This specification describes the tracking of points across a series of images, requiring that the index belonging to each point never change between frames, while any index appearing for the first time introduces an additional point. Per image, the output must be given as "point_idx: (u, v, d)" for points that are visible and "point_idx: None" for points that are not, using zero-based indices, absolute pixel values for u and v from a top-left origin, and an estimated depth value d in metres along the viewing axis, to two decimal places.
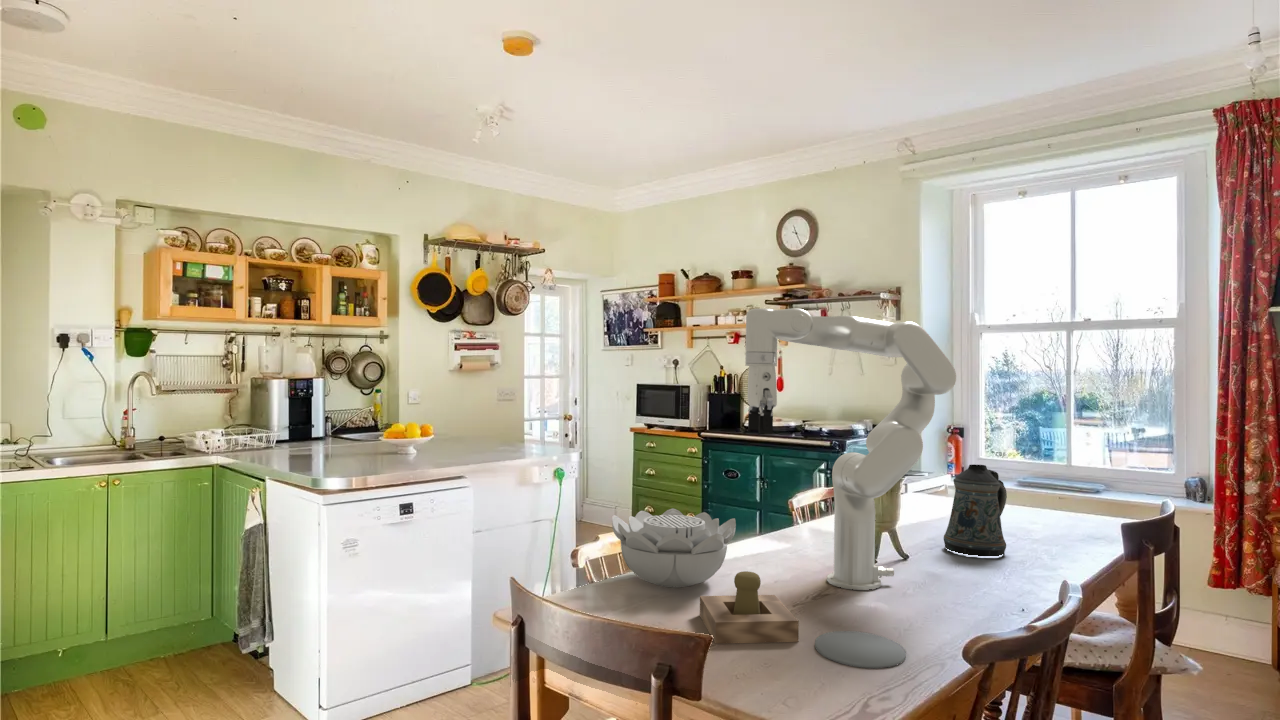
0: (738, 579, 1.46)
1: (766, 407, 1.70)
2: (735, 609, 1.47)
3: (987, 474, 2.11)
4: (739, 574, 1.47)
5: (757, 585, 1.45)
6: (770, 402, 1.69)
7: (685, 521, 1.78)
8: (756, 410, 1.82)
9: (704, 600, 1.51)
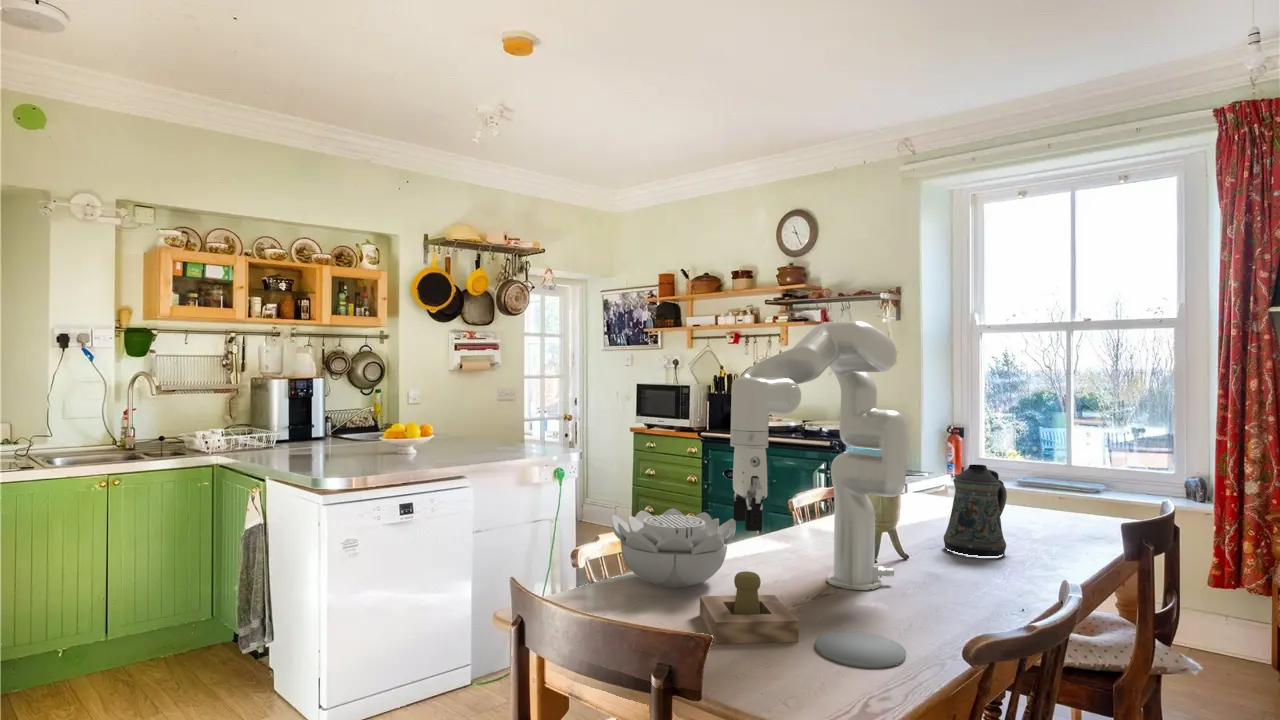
0: (738, 579, 1.46)
1: (754, 500, 1.40)
2: (735, 609, 1.47)
3: (987, 474, 2.11)
4: (739, 574, 1.47)
5: (757, 585, 1.45)
6: (759, 495, 1.39)
7: (685, 521, 1.78)
8: (743, 497, 1.52)
9: (704, 600, 1.51)
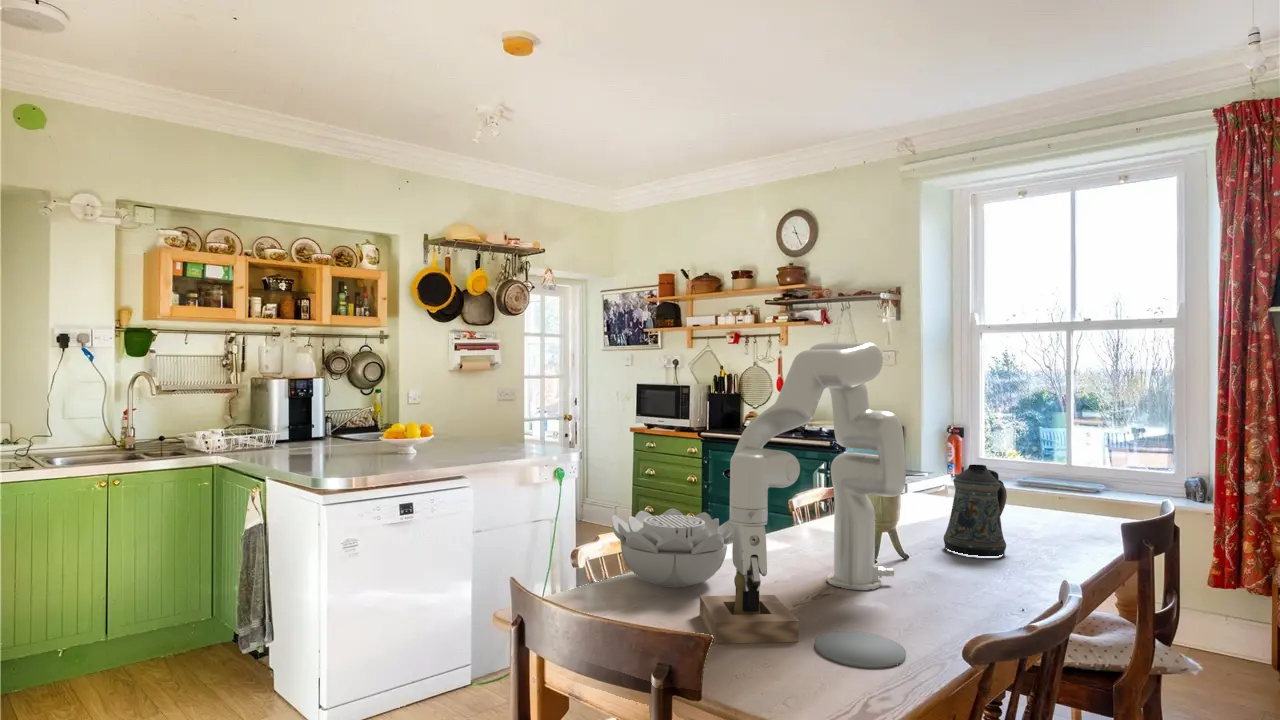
0: (738, 579, 1.46)
1: (751, 583, 1.42)
2: (735, 609, 1.47)
3: (987, 474, 2.11)
4: (739, 574, 1.47)
5: None
6: (756, 582, 1.41)
7: (685, 521, 1.78)
8: None
9: (704, 600, 1.51)
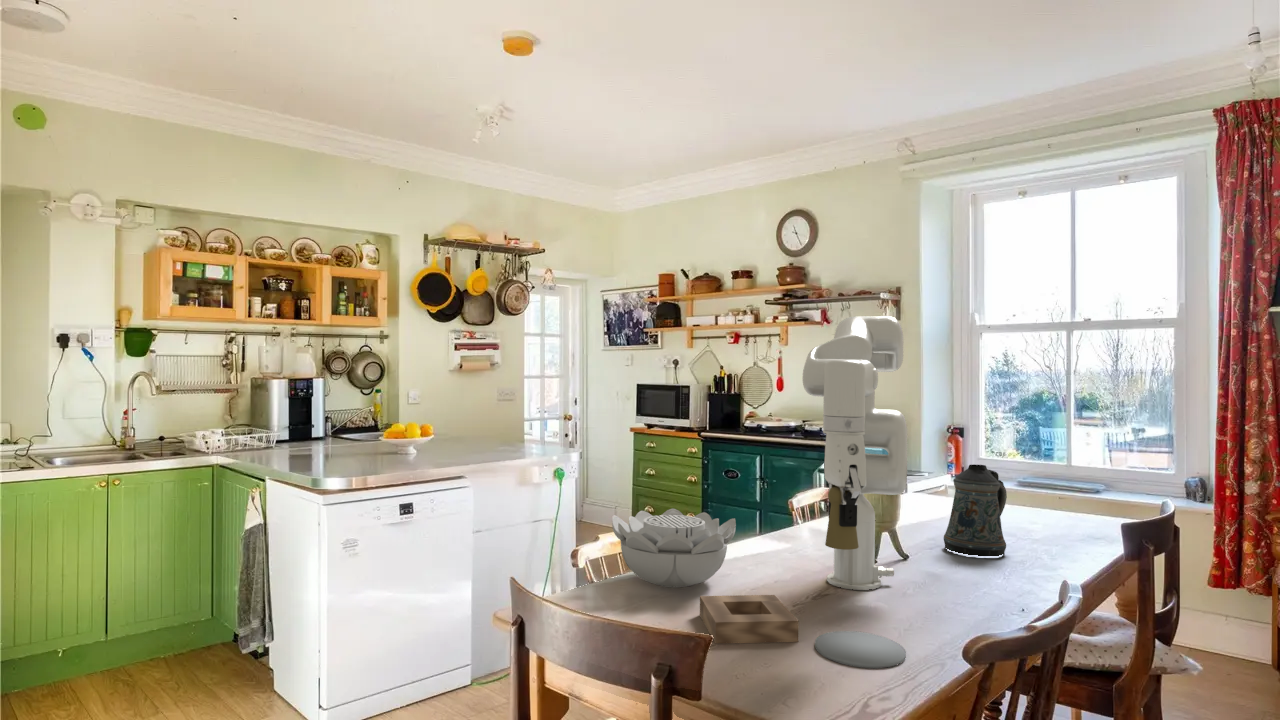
0: (834, 493, 1.37)
1: (850, 495, 1.33)
2: (830, 525, 1.38)
3: (987, 474, 2.11)
4: (834, 488, 1.38)
5: None
6: (856, 493, 1.32)
7: (685, 521, 1.78)
8: None
9: (704, 600, 1.51)
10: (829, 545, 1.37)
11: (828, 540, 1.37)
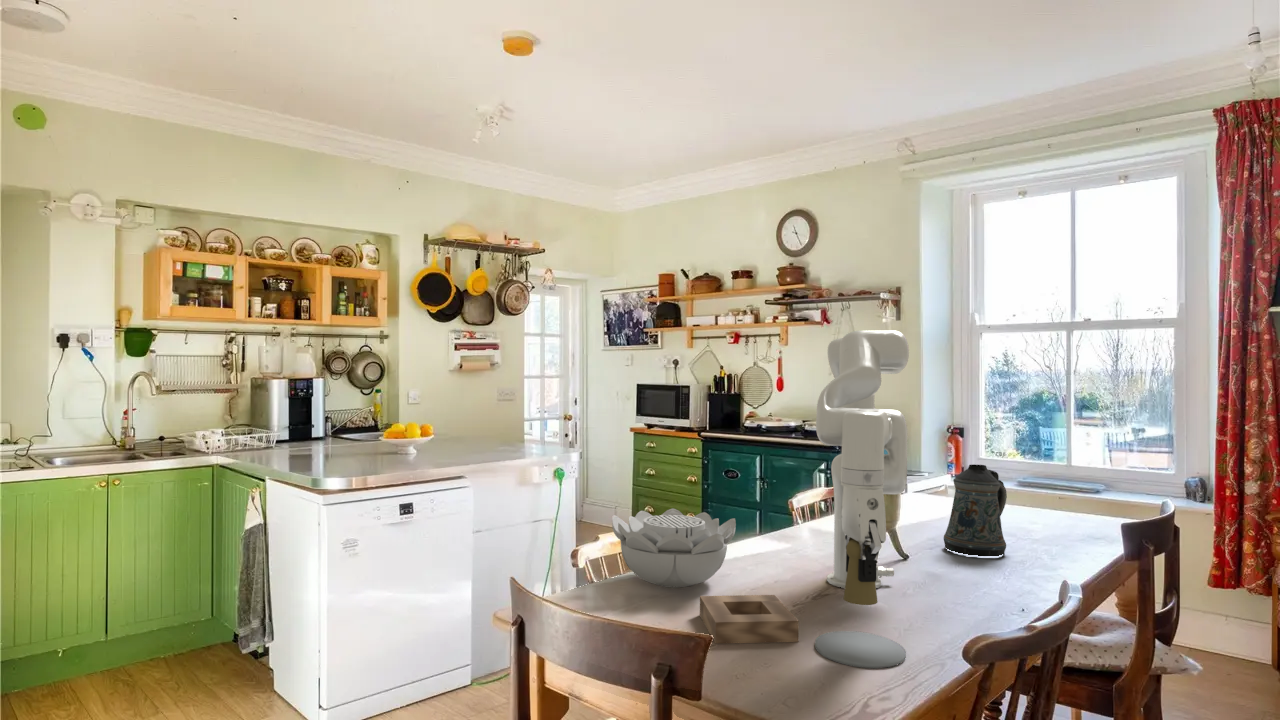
0: (853, 547, 1.35)
1: (870, 550, 1.31)
2: (848, 579, 1.36)
3: (987, 474, 2.11)
4: (852, 541, 1.36)
5: None
6: (876, 549, 1.30)
7: (685, 521, 1.78)
8: None
9: (704, 600, 1.51)
10: (848, 600, 1.35)
11: (847, 595, 1.35)
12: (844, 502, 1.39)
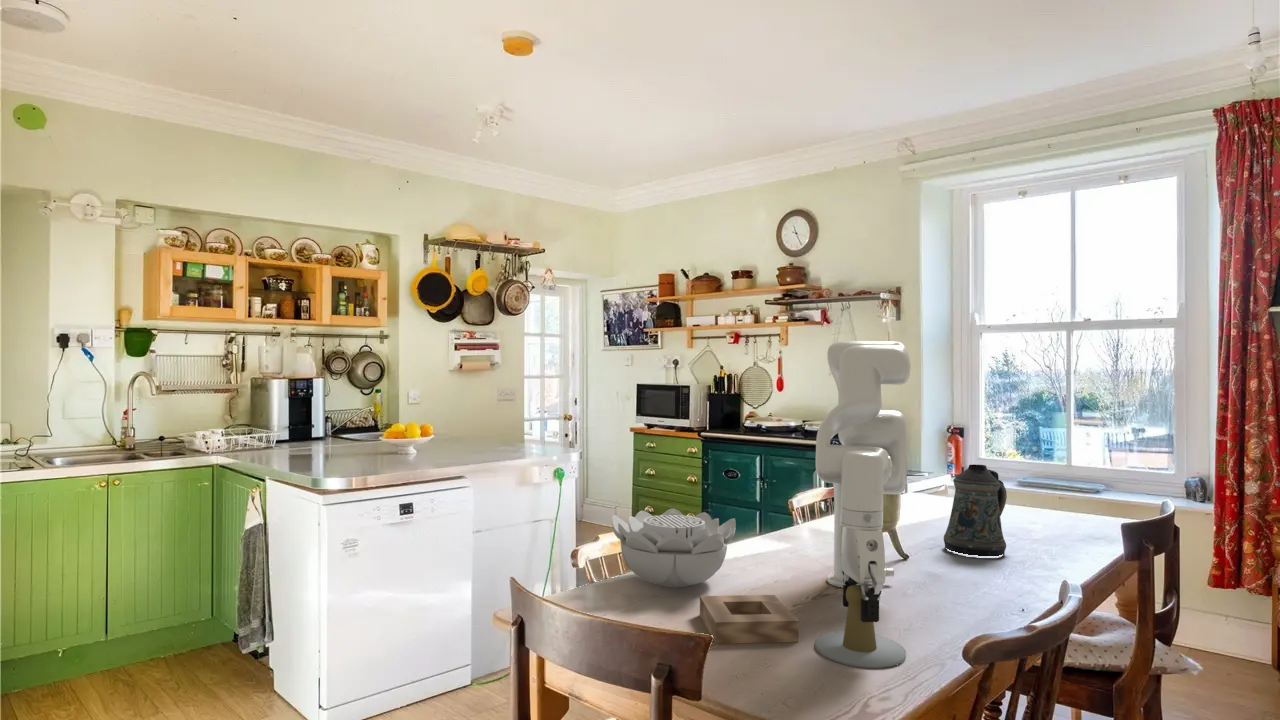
0: (852, 594, 1.35)
1: (872, 591, 1.29)
2: (848, 626, 1.36)
3: (987, 474, 2.11)
4: (852, 588, 1.36)
5: None
6: (879, 587, 1.29)
7: (685, 521, 1.78)
8: (853, 580, 1.41)
9: (704, 600, 1.51)
10: (847, 646, 1.35)
11: (846, 641, 1.35)
12: (843, 541, 1.39)
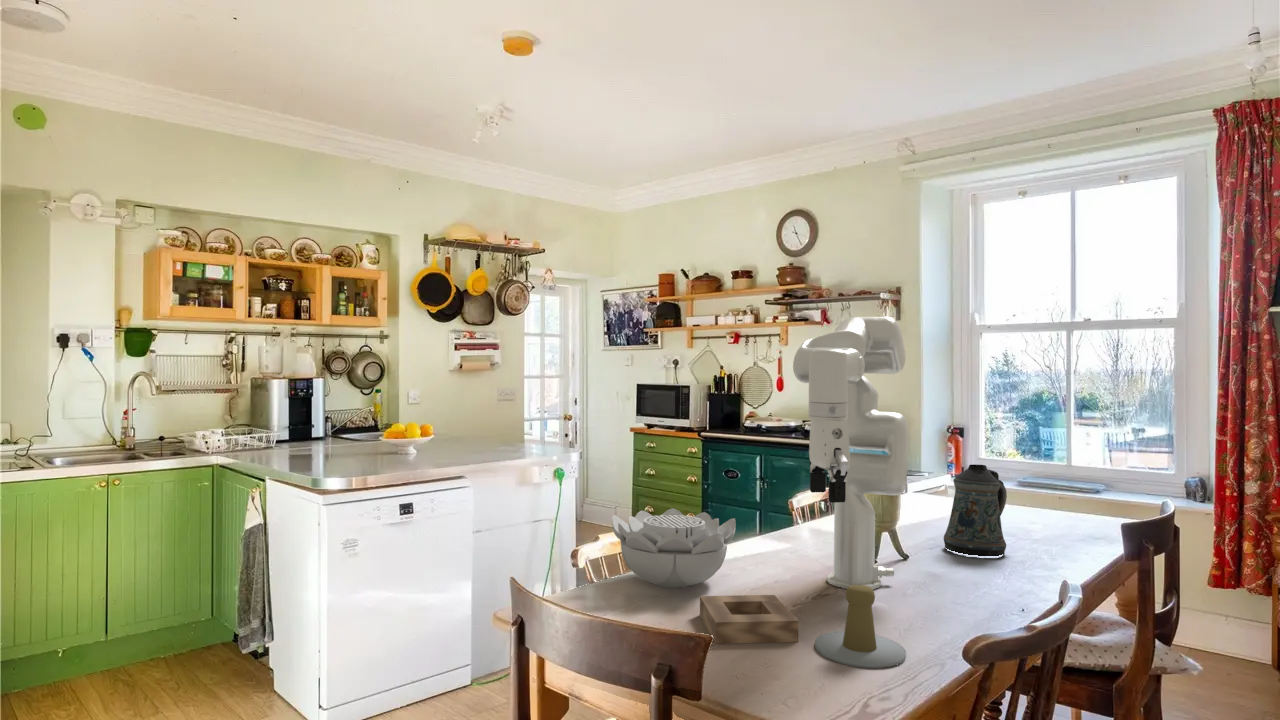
0: (852, 594, 1.35)
1: (839, 472, 1.39)
2: (848, 626, 1.36)
3: (987, 474, 2.11)
4: (852, 588, 1.36)
5: (872, 600, 1.35)
6: (844, 467, 1.39)
7: (685, 521, 1.78)
8: (819, 469, 1.52)
9: (704, 600, 1.51)
10: (847, 646, 1.35)
11: (846, 641, 1.35)
12: (811, 434, 1.49)
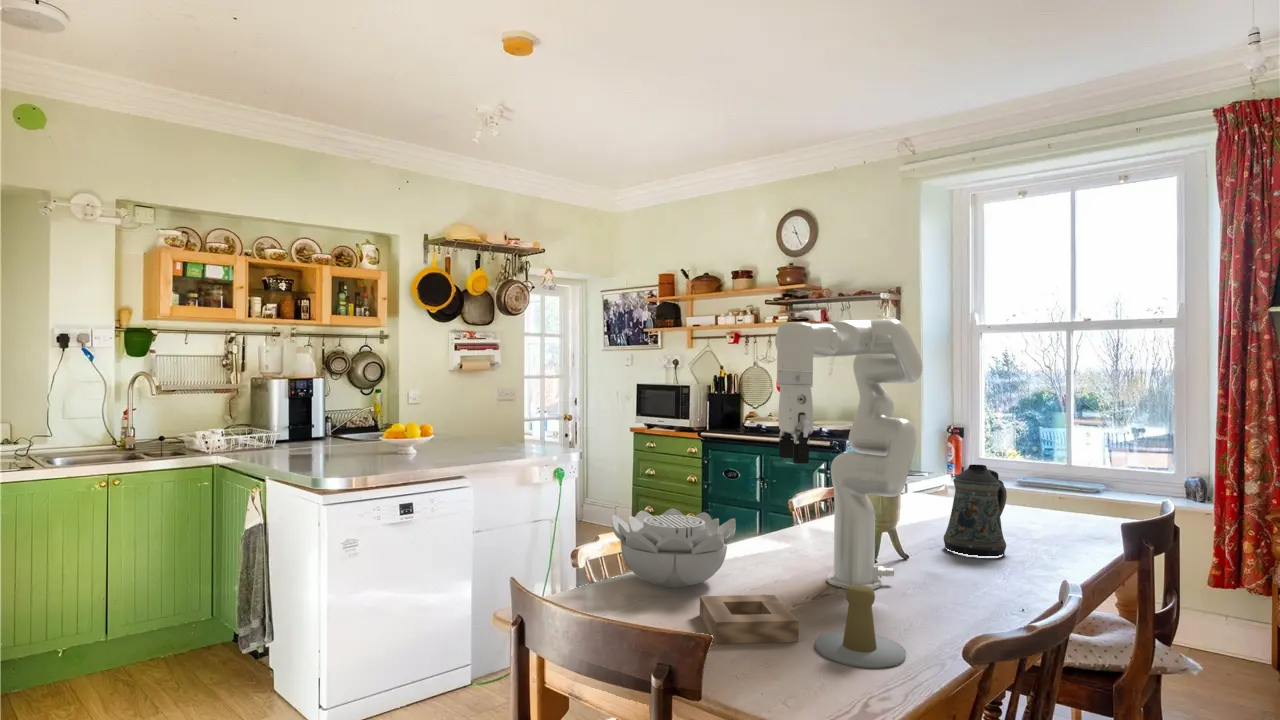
0: (852, 594, 1.35)
1: (802, 434, 1.50)
2: (848, 626, 1.36)
3: (987, 474, 2.11)
4: (852, 588, 1.36)
5: (872, 600, 1.35)
6: (807, 429, 1.50)
7: (685, 521, 1.78)
8: (788, 436, 1.63)
9: (704, 600, 1.51)
10: (847, 646, 1.35)
11: (846, 641, 1.35)
12: (780, 402, 1.60)
